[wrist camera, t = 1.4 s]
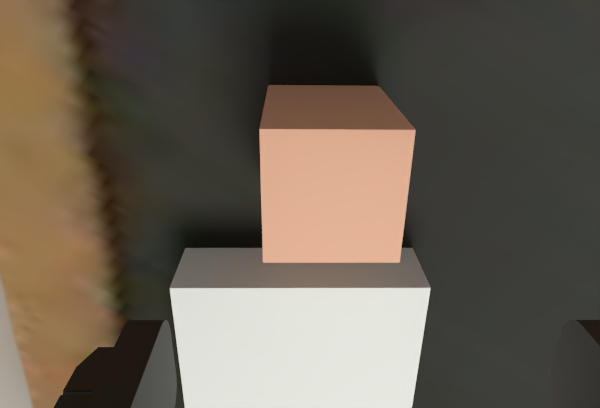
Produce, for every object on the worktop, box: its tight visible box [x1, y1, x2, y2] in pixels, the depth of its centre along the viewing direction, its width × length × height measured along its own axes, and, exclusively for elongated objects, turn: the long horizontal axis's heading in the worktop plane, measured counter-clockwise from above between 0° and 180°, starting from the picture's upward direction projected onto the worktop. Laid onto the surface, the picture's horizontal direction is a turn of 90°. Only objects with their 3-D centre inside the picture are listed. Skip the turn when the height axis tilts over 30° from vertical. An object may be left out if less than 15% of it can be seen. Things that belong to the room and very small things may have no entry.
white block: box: [170, 248, 430, 408], centre depth 26 cm, size 12×12×4 cm
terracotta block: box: [259, 85, 416, 263], centre depth 19 cm, size 5×5×7 cm
